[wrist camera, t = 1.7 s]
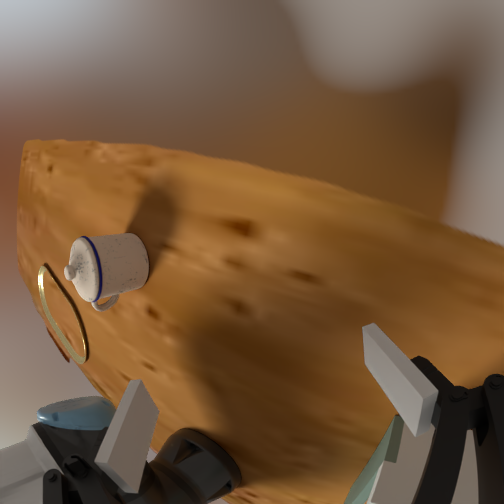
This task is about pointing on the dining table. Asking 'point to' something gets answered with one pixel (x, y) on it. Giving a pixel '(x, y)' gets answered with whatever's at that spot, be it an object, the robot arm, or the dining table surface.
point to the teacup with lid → (107, 267)
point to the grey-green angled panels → (408, 469)
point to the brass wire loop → (52, 322)
